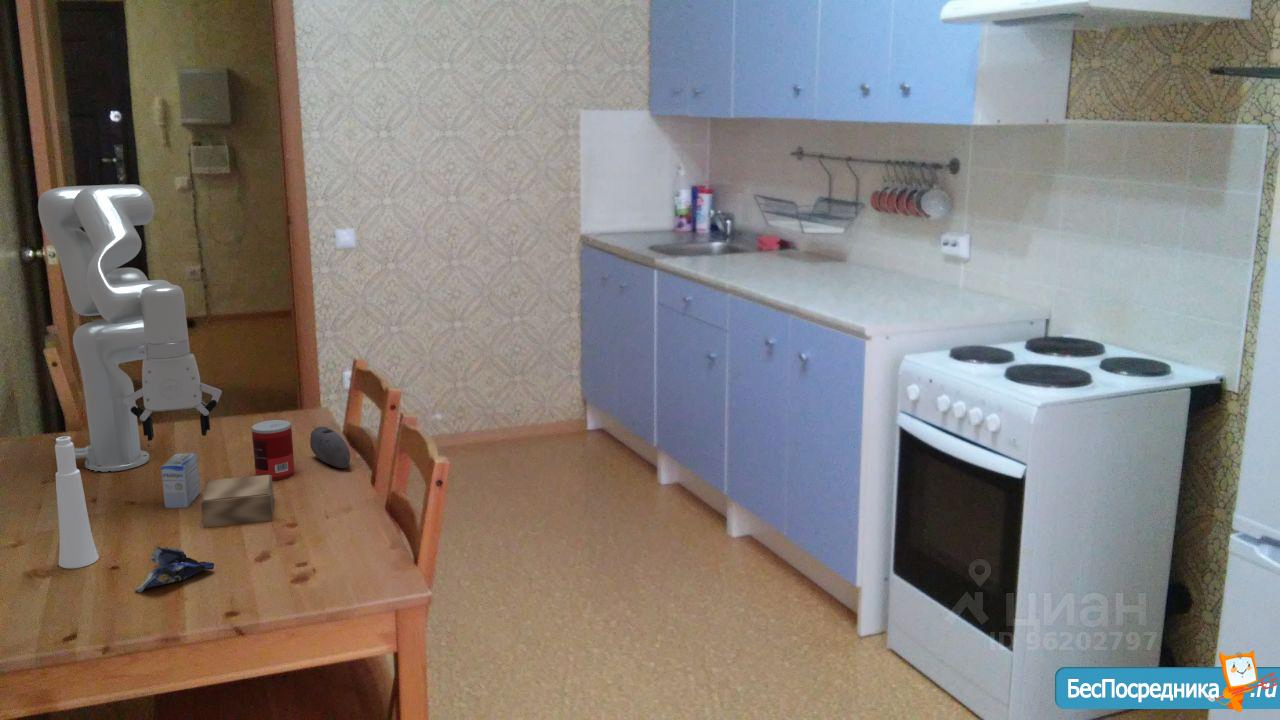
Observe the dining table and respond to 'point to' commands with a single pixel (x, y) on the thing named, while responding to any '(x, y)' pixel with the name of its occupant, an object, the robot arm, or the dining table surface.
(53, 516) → the dining table surface
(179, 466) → the medicine box
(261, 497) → the block
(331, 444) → the perforated stone tool
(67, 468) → the cosmetic bottle
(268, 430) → the canned food
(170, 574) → the snack package
